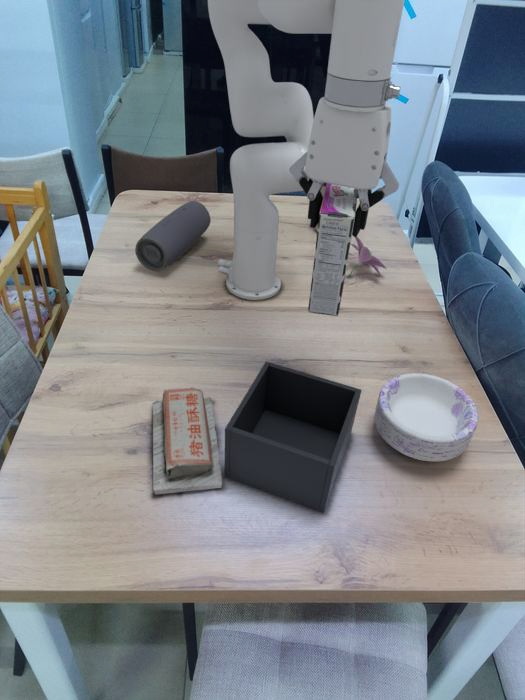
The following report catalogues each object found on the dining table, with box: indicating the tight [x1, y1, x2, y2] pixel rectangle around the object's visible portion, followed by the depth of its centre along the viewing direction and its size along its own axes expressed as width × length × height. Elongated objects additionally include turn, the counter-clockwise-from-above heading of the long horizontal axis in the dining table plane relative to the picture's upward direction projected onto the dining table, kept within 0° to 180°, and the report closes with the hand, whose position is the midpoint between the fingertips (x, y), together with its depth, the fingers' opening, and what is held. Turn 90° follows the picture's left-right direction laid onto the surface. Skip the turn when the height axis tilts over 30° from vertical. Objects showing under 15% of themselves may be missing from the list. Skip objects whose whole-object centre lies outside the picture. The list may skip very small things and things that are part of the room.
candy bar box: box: [307, 183, 359, 317], centre depth 75 cm, size 11×5×16 cm, turn 169°
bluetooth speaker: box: [134, 200, 212, 272], centre depth 123 cm, size 23×9×10 cm, turn 159°
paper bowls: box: [374, 372, 479, 462], centre depth 81 cm, size 15×15×8 cm
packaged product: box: [152, 387, 223, 496], centre depth 78 cm, size 18×5×10 cm
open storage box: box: [224, 360, 362, 513], centre depth 76 cm, size 16×16×11 cm
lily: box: [348, 236, 387, 278], centre depth 121 cm, size 12×12×10 cm
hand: (335, 227), depth 73 cm, fingers closed on candy bar box, 5 cm apart
